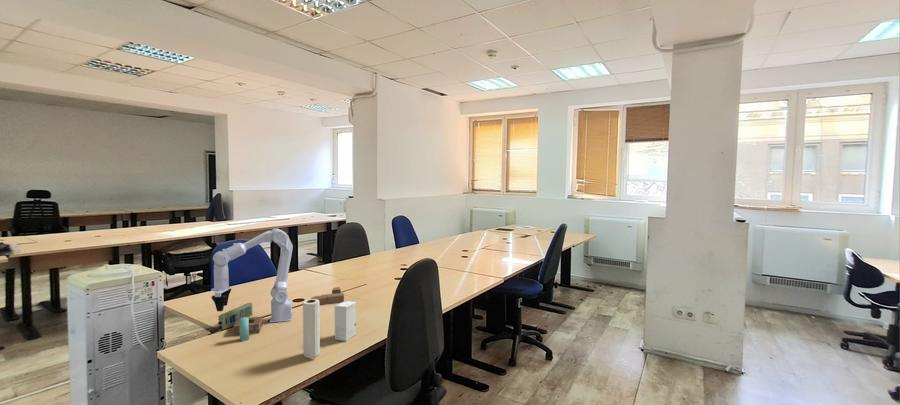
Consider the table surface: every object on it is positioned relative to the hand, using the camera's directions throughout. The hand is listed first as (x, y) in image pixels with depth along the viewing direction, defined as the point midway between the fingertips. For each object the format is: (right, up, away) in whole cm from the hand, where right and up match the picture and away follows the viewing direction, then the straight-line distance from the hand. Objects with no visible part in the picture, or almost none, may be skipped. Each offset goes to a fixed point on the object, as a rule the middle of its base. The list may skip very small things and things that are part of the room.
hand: (222, 308), depth 175 cm
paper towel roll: (+49, -12, -24) cm, 55 cm away
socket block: (+12, -10, 0) cm, 15 cm away
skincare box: (+57, -11, -6) cm, 59 cm away
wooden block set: (+33, -8, +45) cm, 57 cm away
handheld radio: (0, -10, +7) cm, 12 cm away
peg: (+15, -11, -10) cm, 21 cm away
